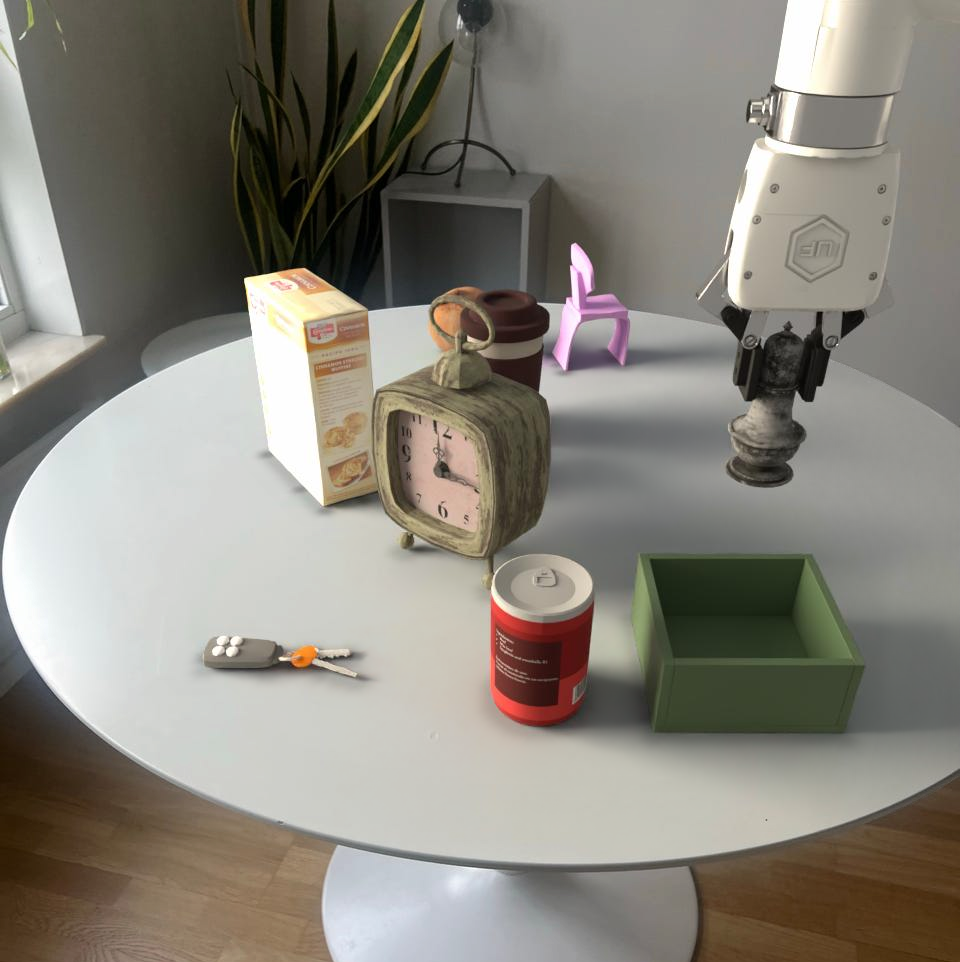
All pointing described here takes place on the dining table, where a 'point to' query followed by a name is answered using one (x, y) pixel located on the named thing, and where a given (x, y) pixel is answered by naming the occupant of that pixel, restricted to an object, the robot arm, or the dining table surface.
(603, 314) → the toy chair
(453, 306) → the onion
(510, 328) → the coffee cup
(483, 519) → the tabletop clock
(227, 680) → the dining table surface
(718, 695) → the green planter box
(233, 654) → the key chain
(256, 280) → the coffeecake box
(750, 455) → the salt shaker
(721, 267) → the robot arm
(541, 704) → the canned food
